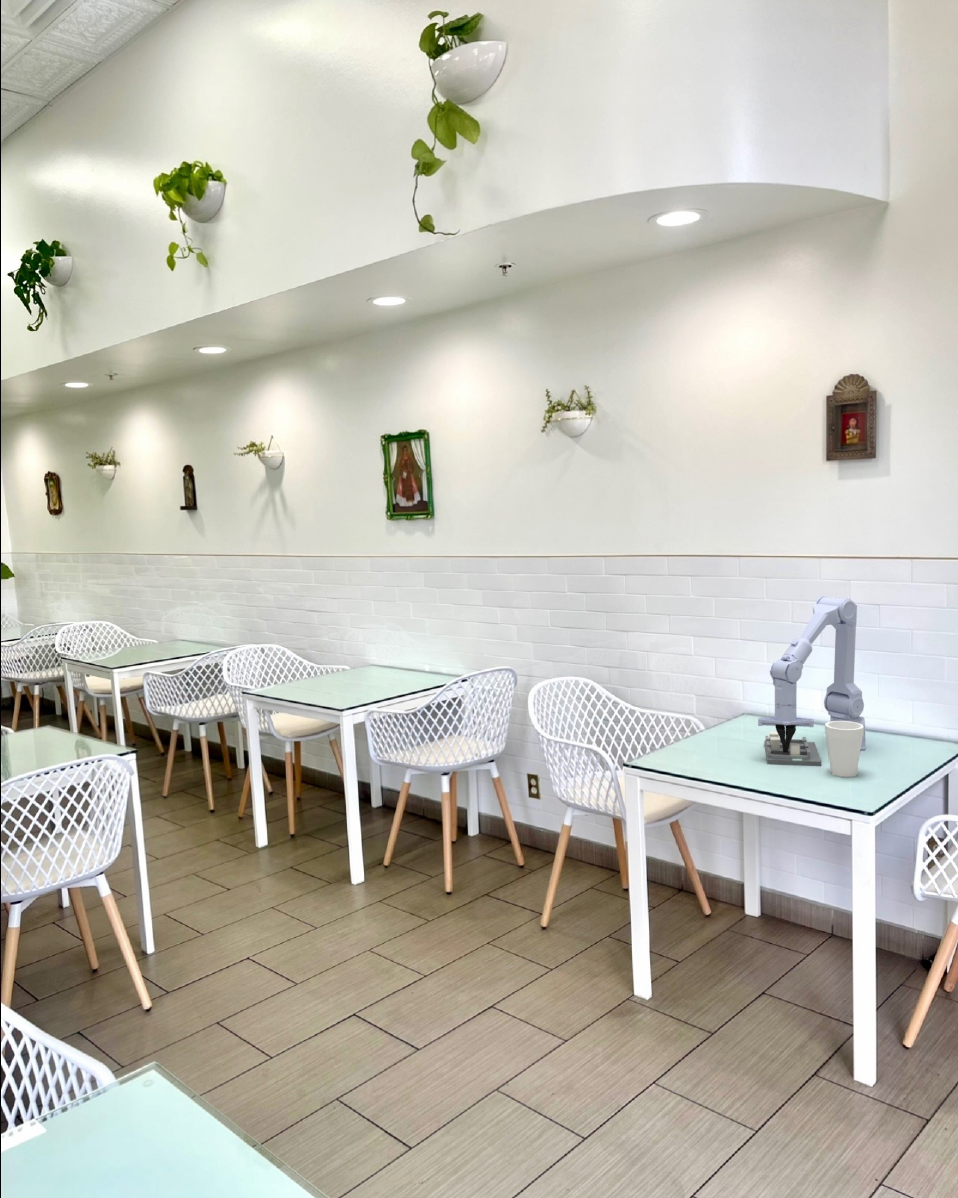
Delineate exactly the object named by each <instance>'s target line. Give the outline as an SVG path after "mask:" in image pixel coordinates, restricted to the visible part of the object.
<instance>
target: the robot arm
mask: <svg viewBox="0 0 958 1198" xmlns="http://www.w3.org/2000/svg"><path fill="white" fill-rule="evenodd" d="M812 606H813V607H812V616H811V618H810V620H809V621H808V623H807V624H806V626H805V629H804V631H803V633H801V635H800V637H799V638H794V639H793V640H792V641H791V642H790V645H789V646H788V648H787V649H786V651H784V653H783V655H782V656H781V658H780V659H778V660H776V661H774V662H773V663H772V665H771V667H770V669H769V676H770V677H771V680H772V684H773V686H774V716H769V717H768V716H767V717H765V716H764V717H757V720H758V721H757V726H759V727H763V726H771V727H775V731H776V732H777V733H778V735H779V738H780V740H781V743H782V747H783V752H788V750H789V745H790V742H791V739H793V736H794V735H795V734H796V731H797V727H803V728H805V727H806V728H807V727H808V728H815V727H814V722H815V721H814V719H813V718H805V717H804V718H803V717H797V689H798V688H797V687H798V686H797V685H798V684H797V682H798V681H799V680H800V679H801V677H802V674H803V672H802V671H803V669H804V664H805V663H806V661H807V660H808V658H809V656H810V655H811V653H812V652H813V645H812V644H813V643H814V641H816V639H817V638H818V637H819V635H820V634H821V633H823V630H824V629H825V628H826V627H827V626H829V625H831V626H832V627H833V628H834V629H835V640H834V641H835V642H834V665H833V667H834V671H833V683H831V684H830V685H828V686H827V687H826V693H825V696H824V699H823V705H824V709H825V710H826V711H827V715H828V716H830V717H829V719H830V721H829V722H832V721H850V722H856V723H859V724H862V725H863V727H864V736H863V737H862V744H861V750H860V751H863V750H864V751H865V750H866V720H865V716H861V714H863V711H864V707H865V704H864V703H865V702H864V699H863V691H862V690H861V688H859V687H858V686H857V685H856V684H855V683H854V682H855V660H856V659H855V657H856V635H857V634H856V631H857V630H856V629H857V618H858V615H857V614H858V606H857V604H856V603H855V602H854V601H853V600H852V599H851V598H840V597H839V598H837V597H829V596H828V597H827V596H820V597H819V598H817V599H816V602H815V604H814V605H812ZM785 739H786V742H785Z"/></svg>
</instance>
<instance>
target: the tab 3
mask: <svg viewBox="0 0 958 1198" xmlns="http://www.w3.org/2000/svg"><path fill="white" fill-rule="evenodd" d="M790 755H800V746H799V743H790Z"/></svg>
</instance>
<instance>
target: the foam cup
mask: <svg viewBox="0 0 958 1198" xmlns="http://www.w3.org/2000/svg"><path fill="white" fill-rule="evenodd" d="M824 733H825V739H826V745H827V753H828V761H829V762H828V763H829V769H830V773H831V774H832V775H833V776H835V777H839V778H841V777H842V778H852V777H853V778H854V777H856V776H857V774H858V769H859V762H860V757H861V751H862V750H861V744H862V737H863V736H864V727H863V725H862V724H859V723H856V722H850V721H832V722H830V721H828V722H825V723H824Z"/></svg>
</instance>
